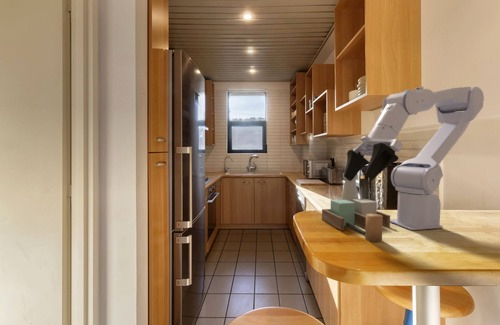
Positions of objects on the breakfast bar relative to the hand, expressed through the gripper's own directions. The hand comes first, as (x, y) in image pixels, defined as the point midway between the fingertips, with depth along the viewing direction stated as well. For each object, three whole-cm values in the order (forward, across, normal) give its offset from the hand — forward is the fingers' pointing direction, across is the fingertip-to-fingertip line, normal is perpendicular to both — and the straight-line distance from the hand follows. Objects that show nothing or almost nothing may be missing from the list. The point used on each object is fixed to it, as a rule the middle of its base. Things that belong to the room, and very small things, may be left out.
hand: (357, 177), depth 60 cm
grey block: (+3, -12, +15) cm, 20 cm away
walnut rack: (+6, -11, +13) cm, 18 cm away
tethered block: (+8, -6, +10) cm, 15 cm away
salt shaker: (+1, -21, +16) cm, 27 cm away
